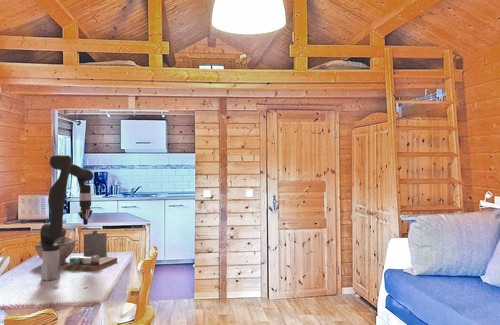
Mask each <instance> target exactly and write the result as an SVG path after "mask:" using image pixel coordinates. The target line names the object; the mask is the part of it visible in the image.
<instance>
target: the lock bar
mask: <svg viewBox="0 0 500 325" xmlns="http://www.w3.org/2000/svg"><path fill="white" fill-rule="evenodd" d="M70 258H80V264H91V265H98V264H99V255H94V256H91V257H84V256H80V255H73V256H70ZM70 258H69V259H70Z"/></svg>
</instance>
